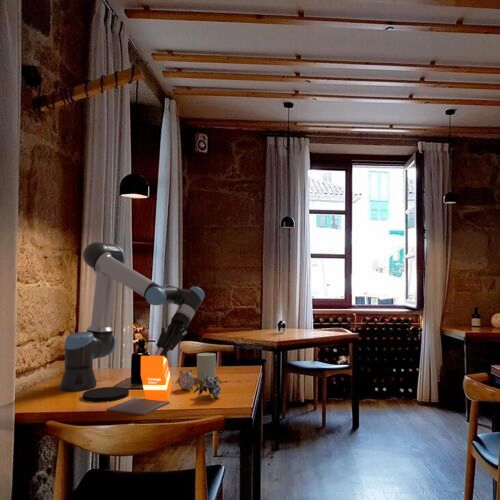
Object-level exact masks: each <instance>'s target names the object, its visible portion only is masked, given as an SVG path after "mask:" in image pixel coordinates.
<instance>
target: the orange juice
mask: <svg viewBox="0 0 500 500" xmlns="http://www.w3.org/2000/svg"><path fill="white" fill-rule="evenodd" d="M140 378H141V382H142V388H143V392H144V397H145V399H149V400H158V401H167V402H169V401H170V400H169V399H170V395H171V392H172V386H173V384H172V380H171V379H172V378H171V372H170V368H169V361H168V359H167V357H165V356H155V355H141V356H140Z"/></svg>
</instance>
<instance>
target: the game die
mask: <svg viewBox="0 0 500 500" xmlns="http://www.w3.org/2000/svg"><path fill="white" fill-rule="evenodd" d="M192 371H193V370H192V369H191V370H190V371H181V370H179V376H178V379H177V380H176V381H175V383H177V385H178V386H179V387H180V391H181V392H182V390H190V389H191V390H192V391H193V390H194V388H193V386H194V385H195V382H196V380H197V377H195V376H194V374H193V373H192Z"/></svg>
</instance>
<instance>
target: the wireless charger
mask: <svg viewBox="0 0 500 500" xmlns="http://www.w3.org/2000/svg"><path fill="white" fill-rule="evenodd" d="M129 395H130V390H129V388H127V387H121V386H106V387H105V386H102V387H95V388H91V389H87V390H86V391H84V392H83V393H82V400H83V401H86V402H89V401H92V402H91V403H108V402H107V401H109V402H114V401H115V402H116V401H119V400H123V399H126V398H128V397H129Z"/></svg>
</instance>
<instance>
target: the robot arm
mask: <svg viewBox="0 0 500 500" xmlns="http://www.w3.org/2000/svg"><path fill="white" fill-rule="evenodd" d="M82 258H83V260H84V263H85V264H86V265H87V267H90V269H91V268H92V269H93V272H94V273H95V274H96V278H95V288H94V296H93V303H92V304H93V305H92V306H93V307H92V313H91V322H90V323H91V324H90V325H89V326H88V327H87V328H86V331H80V332H74V333H71V334H69V335H67V336H66V337H65V342H64V371H63V375H62V378H61V381H60V383H59V389H60V390H61V391H64V390H65V391H66V392H76V391H77V392H78V391H85V390H86V391H87V390H91V389H95V388H97V380H98V379H97V378H96V374H95V370H94V369H93V368H94V363H93V362H94V360H96V359H101V358H105V357H106V356H109V355H111V354H112V353H113V352H114V350H115V348H116V346H117V339H116V337H115V335H114V334H113V331H114V330H113V328H112V327H111V319H112V310H113V303H114V302H113V301H114V293H115V292H114V291H115V284H116V283H115V282H116V281H117V282H119V283H120V284H122V285H124V286H125V287H127V288H129V289H130V290H132V291H134V292H135V293H137V294H138V295H140V296H141V297H144V298H145V299H146V302H147V303H148V304H149V305H152V306H161V305H162V306H163V305H169V304H170V305H171V304H172V305H177V306H178V308H177V309H176V311H175V312H174V314H173V316H172V317H171V320H170V323H169V325H167V327H161V332H160V334H159V338H158V339H157V342H156V347H157V348H158V349H157V351H156V352H155V355H154V356H164V357H165V356H166V354H167V352H169V351H173V350H174V349H175V348H176V346H177V345H178V344H179V343H180V342H181V340H183V338H184V337H185V336H187V335H188V332H187V330H186V329H187V328H188V327H189V325H190V323H191V321H192V319H193V318H194V316H195V314H196V313H197V311H198V309H199V308H200V306H201V305H202V302H203V301H204V298H205V296H206V295H205V292H204V290H203V289H202V288H200V287H199V286H192V287H190V288H189V289H184V288H181V287H176V286H173V285H170V284H163V285H159V284H158V283H156V282H155V281H153V280H151V279H150V278H148V277H146V276H145V275H143V274H141V273H140V272H138V271H136V270H134V268H133V269H132V268H131V267H130V266H128V265H126V264H125V261H126V254H125V251H124V250H123V248H122V247H120V246H119V245H117V244H114V243H108V242H107V243H106V242H97V241H95V242H91V243H88V244H87V246H86V247H85V248H84V249H83V253H82Z"/></svg>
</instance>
